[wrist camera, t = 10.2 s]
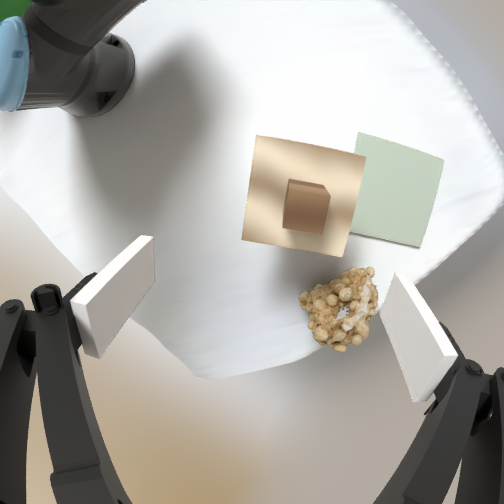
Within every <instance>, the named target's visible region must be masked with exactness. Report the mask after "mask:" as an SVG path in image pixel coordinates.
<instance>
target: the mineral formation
mask: <svg viewBox="0 0 504 504" xmlns="http://www.w3.org/2000/svg"><path fill="white" fill-rule="evenodd" d="M372 277H374V269H373V267H368V268H366V269H364V268H360V269H357V268H356V267H353V268H351V269H349V270H347V271H345V272H342V273H341V274H340V275H339V277H338V278H336V279H333V280H331V281H330V282H329V284H325V285H324V286H323V285H321V284H317V285H315V287H314V290H312V291H310V292H307V291H306V292H301V293H300V294H299V301H300V305H301V307H302V308H303V310H307V311H308V312H309V314H308V315H309V317H310V320H311V321H309V323H308V328H309V329H312V333H313V334H314V335H313V338H314V339H315V340H316V341H317V342H319V344H320V345H322V346H323V345H325V344H326V345H329V346H330V347H334V351H338V352H345V351H346V349H347V345H348V344H350V343H353V344H354V345H360V344H361V343H362V340H364V339H366V338H367V337H368V334H369V324H368V321H369V320H370V319H371V316H373V315H374V314H375V308H377V306H378V303H377V301H378V291H377V289H376V285H373V284H372V281H371V278H372Z"/></svg>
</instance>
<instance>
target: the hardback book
mask: <svg viewBox="0 0 504 504" xmlns="http://www.w3.org/2000/svg"><path fill="white" fill-rule="evenodd" d="M31 3H32V1H29V0H0V23H1V22H3V21H4V20H5V19H6V18H9V17H13V16H19V17H21V16H22V14H23V13H24V12H25V11H26V9H27V8H28V7H29V6H30V4H31Z"/></svg>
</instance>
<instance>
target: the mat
mask: <svg viewBox="0 0 504 504" xmlns="http://www.w3.org/2000/svg"><path fill="white" fill-rule="evenodd" d="M354 154H358V155H362V156H365V157H366V162H365V167H364V172H363V176H362V181H361V185H360V190H359V194H358V199H357V203H356V207H355V211H354V215H353V219H352V223H351V227H350V231H349V232H353V233H357V234H362V235H367V236H372V237H376V238H381V239H385V240H390V241H394V242H399V243H403V244H408V245H412V246H416V247H420V246H421V243H422V240H423V237H424V234H425V231H426V228H427V225H428V222H429V218H430V215H431V212H432V208H433V205H434V201H435V197H436V193H437V190H438V186H439V182H440V177H441V173H442V169H443V164H444V160H443V159H440V158H438V157H435V156H432V155H430V154H427V153H424V152H421V151H419V150H416V149H413V148H410V147H407V146H404V145H401V144H398V143H395V142H391V141H388V140H385V139H381V138H378V137H375V136H371V135H367V134H364V133H360V132H358V136H357V141H356V146H355V152H354Z"/></svg>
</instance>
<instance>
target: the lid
mask: <svg viewBox="0 0 504 504" xmlns="http://www.w3.org/2000/svg"><path fill="white" fill-rule="evenodd" d="M365 162H366V157H365V156H362V155H358V154H354V153H350V152H345V151H341V150H337V149H332V148H327V147H323V146H318V145H313V144H308V143H302V142H297V141H291V140H286V139H280V138H273V137H267V136H260V135H256V140H255V147H254V154H253V161H252V168H251V175H250V182H249V189H248V196H247V203H246V210H245V218H244V225H243V232H242V240H245V241H251V242H257V243H263V244H268V245H274V246H280V247H286V248H292V249H297V250H303V251H309V252H315V253H320V254H326V255H332V256H337V257H343V253H344V250H345V246H346V242H347V239H348V235H349V231H350V227H351V223H352V219H353V215H354V211H355V207H356V203H357V199H358V194H359V190H360V185H361V181H362V176H363V172H364V167H365Z"/></svg>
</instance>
